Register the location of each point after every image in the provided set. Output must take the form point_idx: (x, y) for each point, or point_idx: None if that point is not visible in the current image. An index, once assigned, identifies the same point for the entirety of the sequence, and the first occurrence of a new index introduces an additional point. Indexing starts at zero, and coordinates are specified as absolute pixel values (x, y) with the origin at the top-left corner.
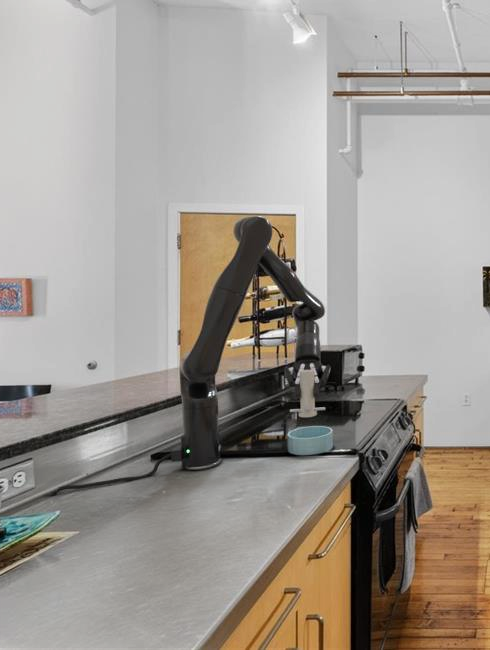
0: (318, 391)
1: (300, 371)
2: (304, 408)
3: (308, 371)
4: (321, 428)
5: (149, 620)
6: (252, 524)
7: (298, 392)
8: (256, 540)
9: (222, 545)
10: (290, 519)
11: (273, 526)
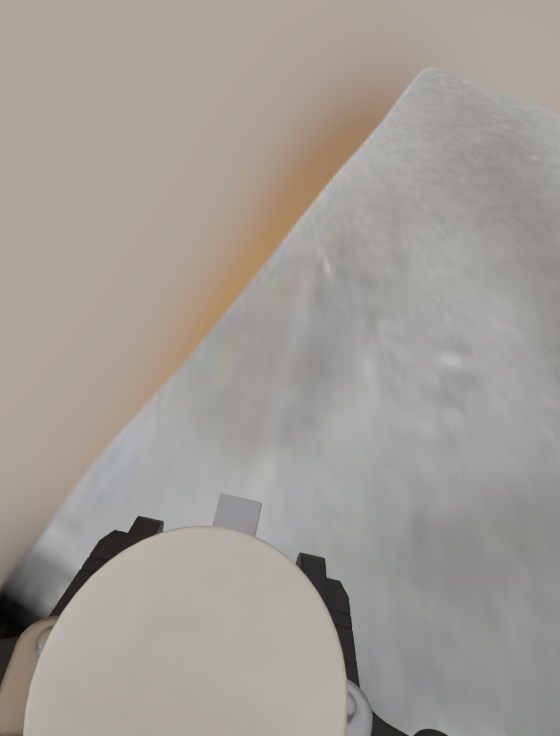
0: (103, 544)
1: (333, 653)
2: (255, 521)
3: (185, 552)
4: None
5: (486, 103)
6: (400, 233)
7: (313, 572)
8: (388, 184)
9: (441, 195)
10: (329, 218)
11: (361, 210)
